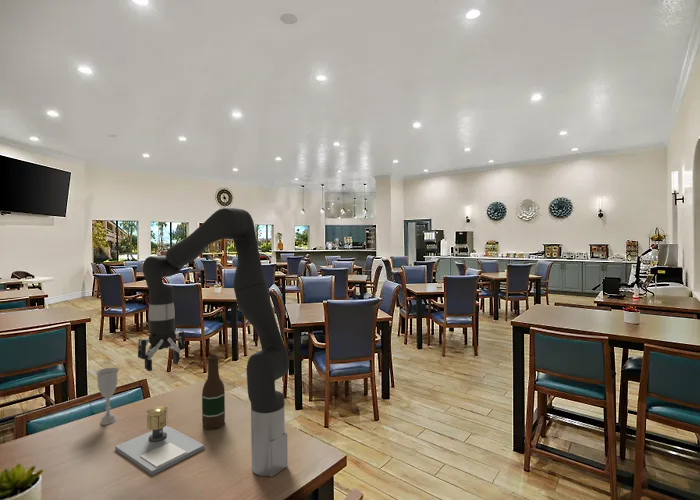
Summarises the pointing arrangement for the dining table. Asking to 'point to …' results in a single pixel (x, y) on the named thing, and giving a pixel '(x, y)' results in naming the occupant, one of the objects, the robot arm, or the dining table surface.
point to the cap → (157, 417)
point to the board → (159, 449)
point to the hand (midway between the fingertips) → (162, 367)
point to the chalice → (107, 391)
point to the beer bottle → (213, 397)
